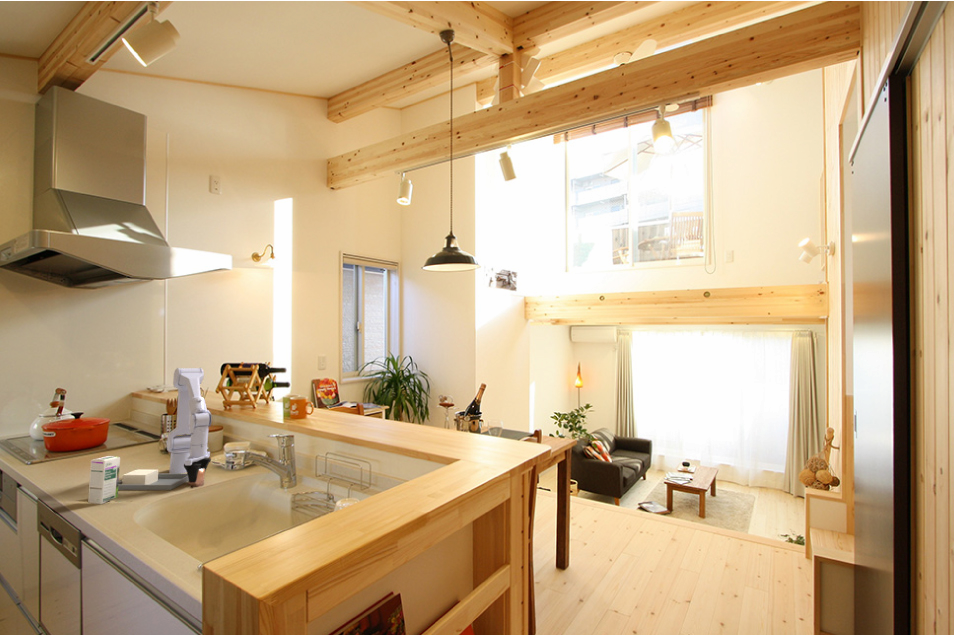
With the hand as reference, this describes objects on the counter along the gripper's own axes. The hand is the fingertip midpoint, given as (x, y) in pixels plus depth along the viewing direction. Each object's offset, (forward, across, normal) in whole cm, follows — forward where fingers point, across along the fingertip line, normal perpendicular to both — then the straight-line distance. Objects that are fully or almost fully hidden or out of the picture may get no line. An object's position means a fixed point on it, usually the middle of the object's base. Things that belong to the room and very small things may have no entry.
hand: (196, 480), depth 179 cm
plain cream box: (+1, -1, +20) cm, 20 cm away
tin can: (+2, 0, 0) cm, 2 cm away
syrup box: (+2, -19, +21) cm, 28 cm away
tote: (+2, -1, +15) cm, 15 cm away
